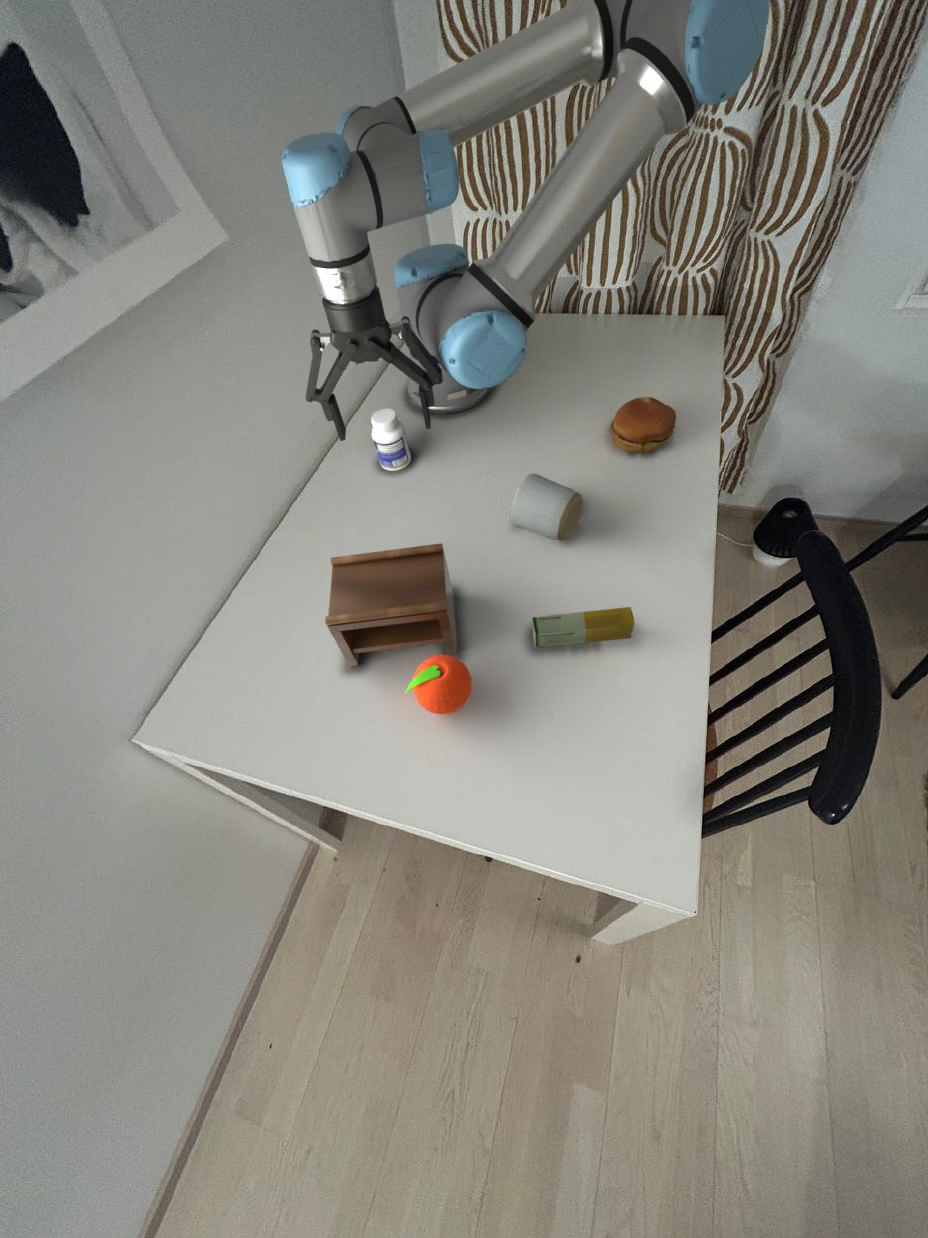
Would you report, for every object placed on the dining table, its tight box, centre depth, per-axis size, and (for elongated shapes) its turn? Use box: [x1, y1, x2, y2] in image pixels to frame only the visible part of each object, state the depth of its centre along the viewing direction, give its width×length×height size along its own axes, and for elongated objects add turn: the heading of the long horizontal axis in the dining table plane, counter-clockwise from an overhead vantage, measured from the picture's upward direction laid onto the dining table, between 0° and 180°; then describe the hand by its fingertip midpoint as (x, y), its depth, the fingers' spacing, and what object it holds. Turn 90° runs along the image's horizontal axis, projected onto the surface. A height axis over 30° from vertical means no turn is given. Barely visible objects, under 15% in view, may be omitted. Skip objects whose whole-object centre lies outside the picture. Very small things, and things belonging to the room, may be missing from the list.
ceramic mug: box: [510, 473, 584, 541], centre depth 82 cm, size 11×8×8 cm
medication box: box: [531, 606, 635, 649], centre depth 72 cm, size 12×3×4 cm, turn 92°
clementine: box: [404, 654, 473, 715], centre depth 68 cm, size 8×7×7 cm
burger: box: [610, 396, 677, 454], centre depth 92 cm, size 10×9×5 cm
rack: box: [324, 542, 458, 667], centre depth 73 cm, size 10×14×10 cm
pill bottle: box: [370, 407, 412, 472], centre depth 94 cm, size 5×5×9 cm
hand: (385, 429), depth 92 cm, fingers open, 13 cm apart
